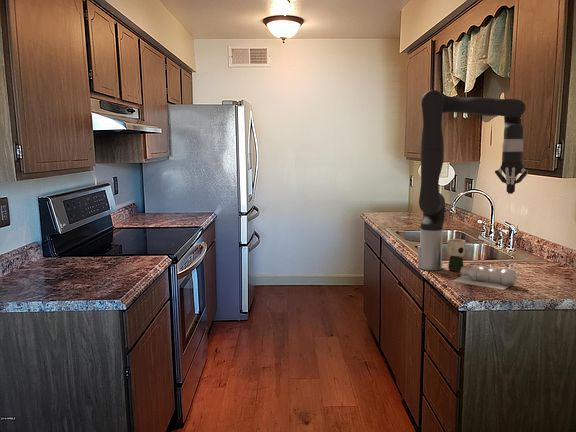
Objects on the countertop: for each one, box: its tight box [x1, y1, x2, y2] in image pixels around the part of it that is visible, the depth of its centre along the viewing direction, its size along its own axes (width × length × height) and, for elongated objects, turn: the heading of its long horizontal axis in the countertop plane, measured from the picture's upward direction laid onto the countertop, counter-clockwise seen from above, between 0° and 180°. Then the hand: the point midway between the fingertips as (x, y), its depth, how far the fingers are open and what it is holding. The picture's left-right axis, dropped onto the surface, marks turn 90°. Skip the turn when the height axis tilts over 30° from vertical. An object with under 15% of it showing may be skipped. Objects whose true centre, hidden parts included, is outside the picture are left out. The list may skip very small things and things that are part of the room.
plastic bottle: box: [459, 264, 518, 287], centre depth 182 cm, size 6×7×20 cm
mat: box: [452, 275, 510, 291], centre depth 183 cm, size 19×10×1 cm, turn 49°
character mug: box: [447, 238, 467, 272], centre depth 202 cm, size 11×7×13 cm, turn 133°
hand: (510, 193), depth 194 cm, fingers closed
